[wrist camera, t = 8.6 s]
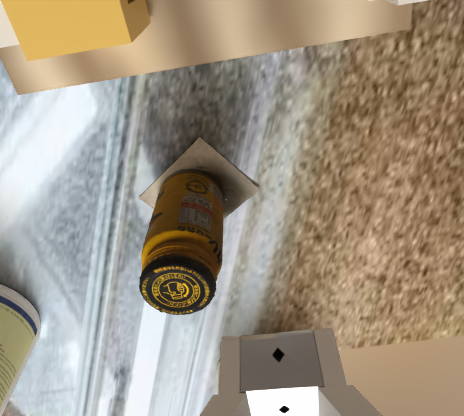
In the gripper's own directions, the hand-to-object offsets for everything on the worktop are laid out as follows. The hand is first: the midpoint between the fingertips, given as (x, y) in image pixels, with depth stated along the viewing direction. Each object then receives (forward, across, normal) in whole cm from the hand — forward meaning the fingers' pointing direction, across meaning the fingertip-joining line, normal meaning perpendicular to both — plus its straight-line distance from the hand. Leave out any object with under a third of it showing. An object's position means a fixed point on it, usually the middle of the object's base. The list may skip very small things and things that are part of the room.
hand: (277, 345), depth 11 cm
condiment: (+24, +6, +9) cm, 26 cm away
